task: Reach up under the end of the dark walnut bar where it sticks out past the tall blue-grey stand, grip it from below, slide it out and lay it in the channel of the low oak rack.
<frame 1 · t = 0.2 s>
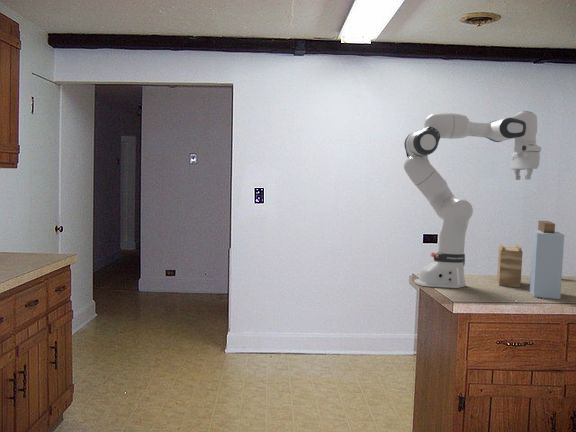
hand: (522, 179, 267), 48 cm above the counter, tool pointing down, fingers open, 8 cm apart
stand: (544, 294, 251), on the counter
rack: (508, 283, 276), on the counter
walnut bar: (545, 231, 256), point 26 cm above the counter, touching stand
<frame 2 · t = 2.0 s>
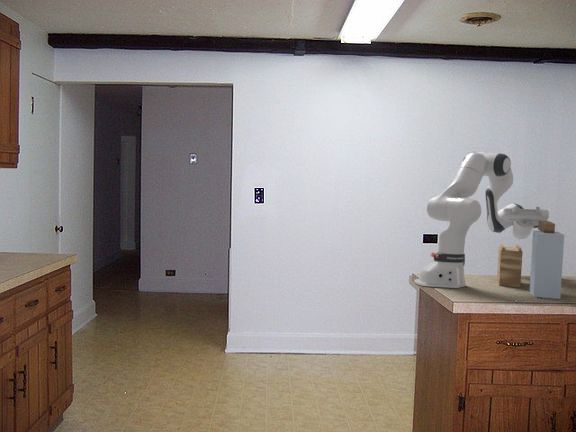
hand: (527, 207, 281), 35 cm above the counter, tool pointing upward, fingers open, 8 cm apart
nothing on the counter moved.
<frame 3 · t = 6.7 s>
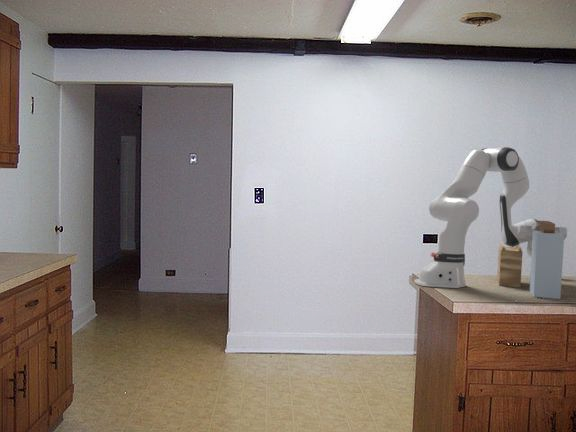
hand: (544, 224, 262), 28 cm above the counter, tool pointing upward, fingers closed on walnut bar, 4 cm apart
walnut bar: (545, 231, 256), point 26 cm above the counter, touching gripper, stand
everything else where it was.
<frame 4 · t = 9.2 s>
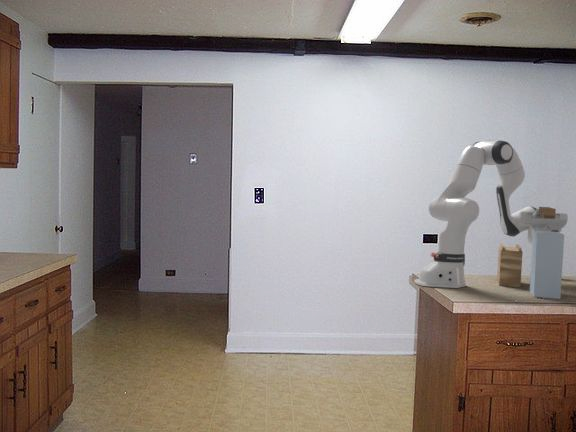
hand: (544, 210, 263), 34 cm above the counter, tool pointing upward, fingers closed on walnut bar, 4 cm apart
walnut bar: (546, 217, 257), point 32 cm above the counter, touching gripper
everything else where it was.
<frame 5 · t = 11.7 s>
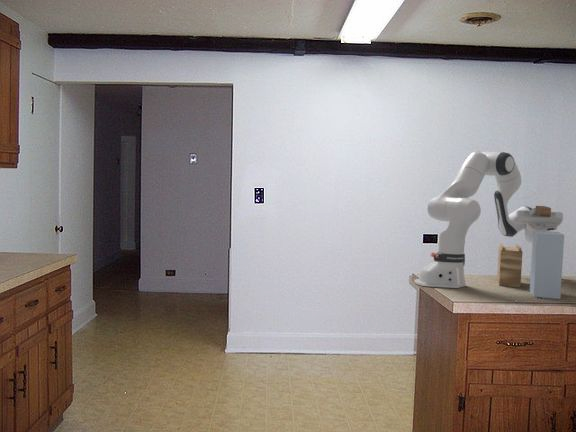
hand: (541, 209, 275), 35 cm above the counter, tool pointing upward, fingers closed on walnut bar, 4 cm apart
walnut bar: (542, 215, 269), point 32 cm above the counter, touching gripper
everything else where it was.
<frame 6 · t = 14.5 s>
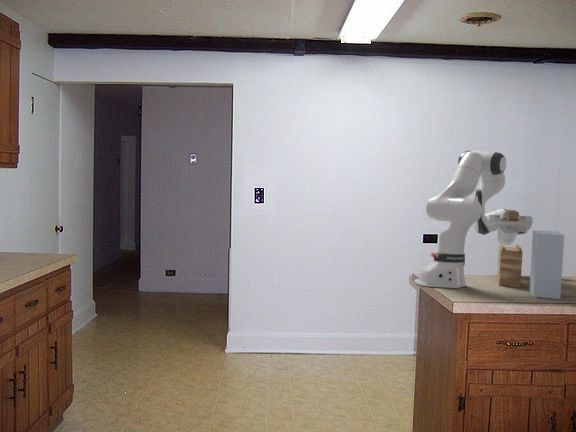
hand: (511, 213, 282), 32 cm above the counter, tool pointing upward, fingers closed on walnut bar, 4 cm apart
walnut bar: (511, 219, 276), point 29 cm above the counter, touching gripper
everything else where it was.
when the fingers open (19 cm above the counter, at t = 17.0 s): walnut bar stays where it is, resting on rack.
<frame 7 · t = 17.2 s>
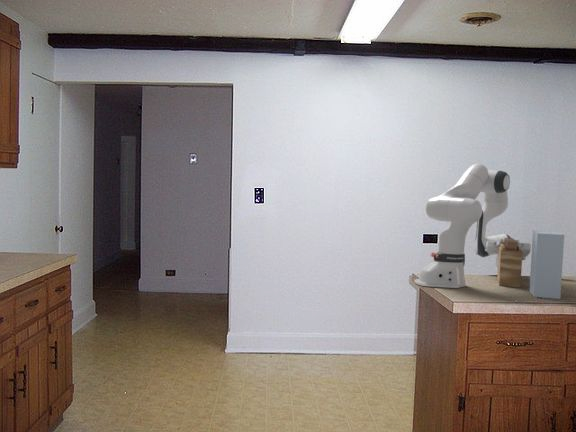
hand: (509, 241, 283), 19 cm above the counter, tool pointing upward, fingers open, 6 cm apart
walnut bar: (510, 248, 277), point 16 cm above the counter, touching rack
everything else where it was.
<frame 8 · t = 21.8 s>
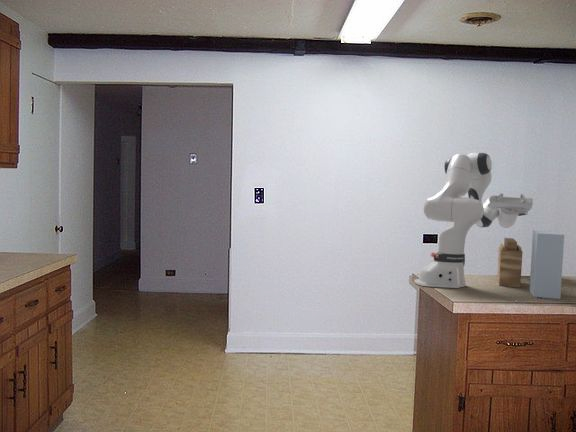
hand: (511, 195, 291), 40 cm above the counter, tool pointing upward, fingers open, 8 cm apart
nothing on the counter moved.
at the end: walnut bar inside the target area on the rack (0.7 cm from its centre), point 16.0 cm above the rack's base; walnut bar touching rack; the gripper is holding nothing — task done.
